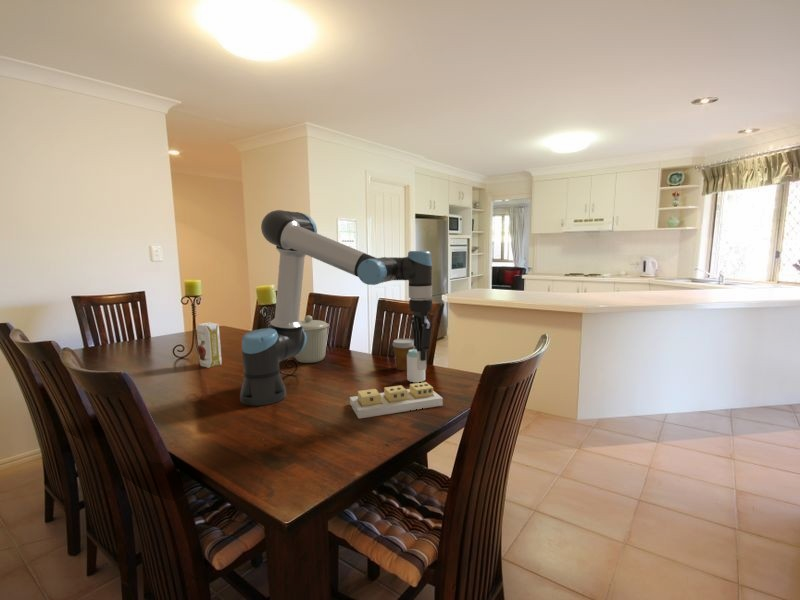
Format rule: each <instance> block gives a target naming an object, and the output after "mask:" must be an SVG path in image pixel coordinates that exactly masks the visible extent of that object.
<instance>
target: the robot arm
mask: <svg viewBox="0 0 800 600" xmlns="http://www.w3.org/2000/svg"><path fill="white" fill-rule="evenodd" d="M260 229H261V234H262V236H263V237H264V240H266V241H267V242H268V243H270V244H272V245H274V246H276V247H275V249H276V250H277V252H279V265H278V275H277V276H278V277H277V290H276V302H275V312H274V318H273V319H272V320H271V321H270V322H269V327H267V328H259V329H254V330H251V331H248V332H247V333H245V334H244V335H242V340H241V352H242V353H241V354H242V364H243V374H244V375H243V377H244V378H243V382H242V385H241V389H240V393H239V401H240V403H241V404H243V405H246V406H252V407H253V406H254V407H258V406H265V405H271V404H275V403H277V402H280V401H282V400H284V399H285V398H286V396H287V390H286V386H285V383H284V381H283V379H282V376H281V374H280V363H281V362H283V361H285V360H287V359H290V358H294V357H295V355H297V354H298V353H300V352H301V351H302V350H303V349H304V347H305V345H306V341H307V336H306V333H305V332H304V329H303V328H302V323H301V321H302V320H300V309H301V301H302V300H301V299H302V288H303V278H304V277H303V276H304V267H305V258H306V256H308V257H310V258H313V259H316V260H317V261H320V262H322V263H325V264H327V265H328V266H332V267H334V268H336V269H337V270H338V269H339V270H341V271H343V272H345V273H348V274H350V275H353V276H355V277H357V278H358V279H359V280H360V282H361V283H363V284H364V285H370V286H376V285H379V284H381V283H382V284H383V283H387V282H392V281H408V298H409V300H408V309H409V311H410V312H412V313H413V316H412V317H410V323H411V328H412V329H411V330H412V338H413V339H412V340H413V341H414V347H415V349H417V369H418V370H425V371H426V370H427V351H429V350H430V343H431V334H432V327H433V323H432V321H431V322H430V321H429V319H430V317H429V312H431V311H432V310H433V299H431V298H432V297H433V290H434V288H433V281H432V279H433V277H432V276H433V273H432V272H433V271H432V270H433V263H432V254H431V252H430V251H429V250H410V251H408V252H407V256H406V257H404V256H403V257H386V256H384V257H376V256H372V255H370V254H367V253H366V252H363V251H361V250H359V249H355V248H353V247H351V246H349V245H346V244H343V243H340V242H338V241H336V240H334V239H331V238H329V237H327V236H324V235H322V234H319V233H318V228H317V224H316V222H315V221H314V219H313V218H312V217H311V216H309V215H308V214H306V213H303V212H299V211H290V210H282V209H277V210H272V211H269V212H267V214H266V215H265V216H264V217H263V219H262V221H261V228H260Z"/></svg>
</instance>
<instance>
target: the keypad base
mask: <svg viewBox="0 0 800 600" xmlns="http://www.w3.org/2000/svg"><path fill="white" fill-rule="evenodd" d="M405 389H406V390H407V391H408V400H405V401H399V402H392V403H389V402H388V401H387V400H386V399H385V396H384V392H379V393H380V395H381V404H378V405H372V406H365V407H361V405H360V404H359V402H358V395H355V396H350V397H349V404H350V407H351V406H352V407H351V408H352V410H353V412H354V413H355V415H356V417H357V418H358V419H359V420H360V419H364V418H371V417H377V416H384V415H390V414H396V413H397V414H398V413H402V412H410V410H411V411H416V409H417V410H421V409H422V408H423V409H427V408H428V409H429V408H435V407H442V406H444V404H443V403H444V398H443V397H442V396H441V395H440V394H438V393H437V392H436V391H434V390H433V397H426V398H419V399H415V398H414V397H413V396H412V395H411V394H410V388H405Z"/></svg>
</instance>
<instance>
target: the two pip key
mask: <svg viewBox="0 0 800 600" xmlns="http://www.w3.org/2000/svg"><path fill="white" fill-rule="evenodd" d="M383 388H384V390H383V391H384V396H385V399H386V400H387V401H388V402H389V403H392V402H399V401H405V400H408V391H407V390H406V389H407V388H405V387H404V386H403V385H394V386H386V387H385V386H384V387H383Z"/></svg>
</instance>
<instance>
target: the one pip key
mask: <svg viewBox="0 0 800 600" xmlns="http://www.w3.org/2000/svg"><path fill="white" fill-rule="evenodd" d="M380 393H381V392H379V391H378V390H377V389H376V388H371V389H364V390H363V389H362V390H358V391H357V396H358V402H359V404H360V405H361V407H365V406H372V405H378V404H381V395H380Z"/></svg>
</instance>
